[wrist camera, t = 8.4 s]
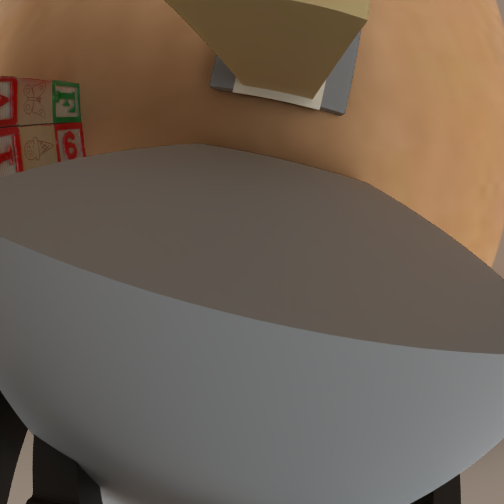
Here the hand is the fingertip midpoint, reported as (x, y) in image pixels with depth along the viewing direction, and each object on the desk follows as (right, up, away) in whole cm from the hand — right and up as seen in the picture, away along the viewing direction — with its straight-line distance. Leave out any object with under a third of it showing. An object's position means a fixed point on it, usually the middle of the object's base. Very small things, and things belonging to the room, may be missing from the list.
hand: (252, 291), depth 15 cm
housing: (0, 0, +2) cm, 2 cm away
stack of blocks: (-22, +11, +2) cm, 25 cm away
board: (+3, +16, -4) cm, 16 cm away
